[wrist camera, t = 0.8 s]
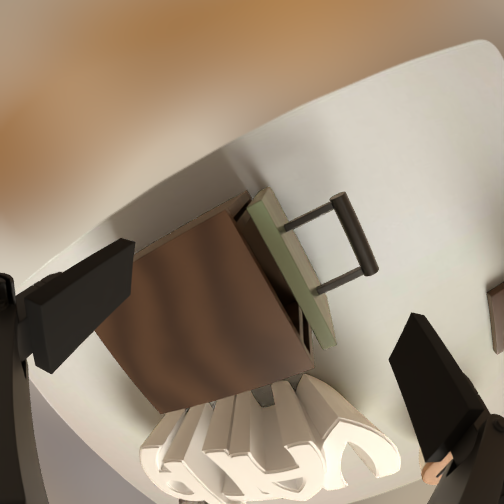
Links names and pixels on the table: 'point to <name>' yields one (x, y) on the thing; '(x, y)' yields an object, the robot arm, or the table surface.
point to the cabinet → (203, 317)
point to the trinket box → (432, 468)
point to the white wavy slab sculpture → (263, 446)
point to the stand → (497, 316)
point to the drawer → (301, 258)
